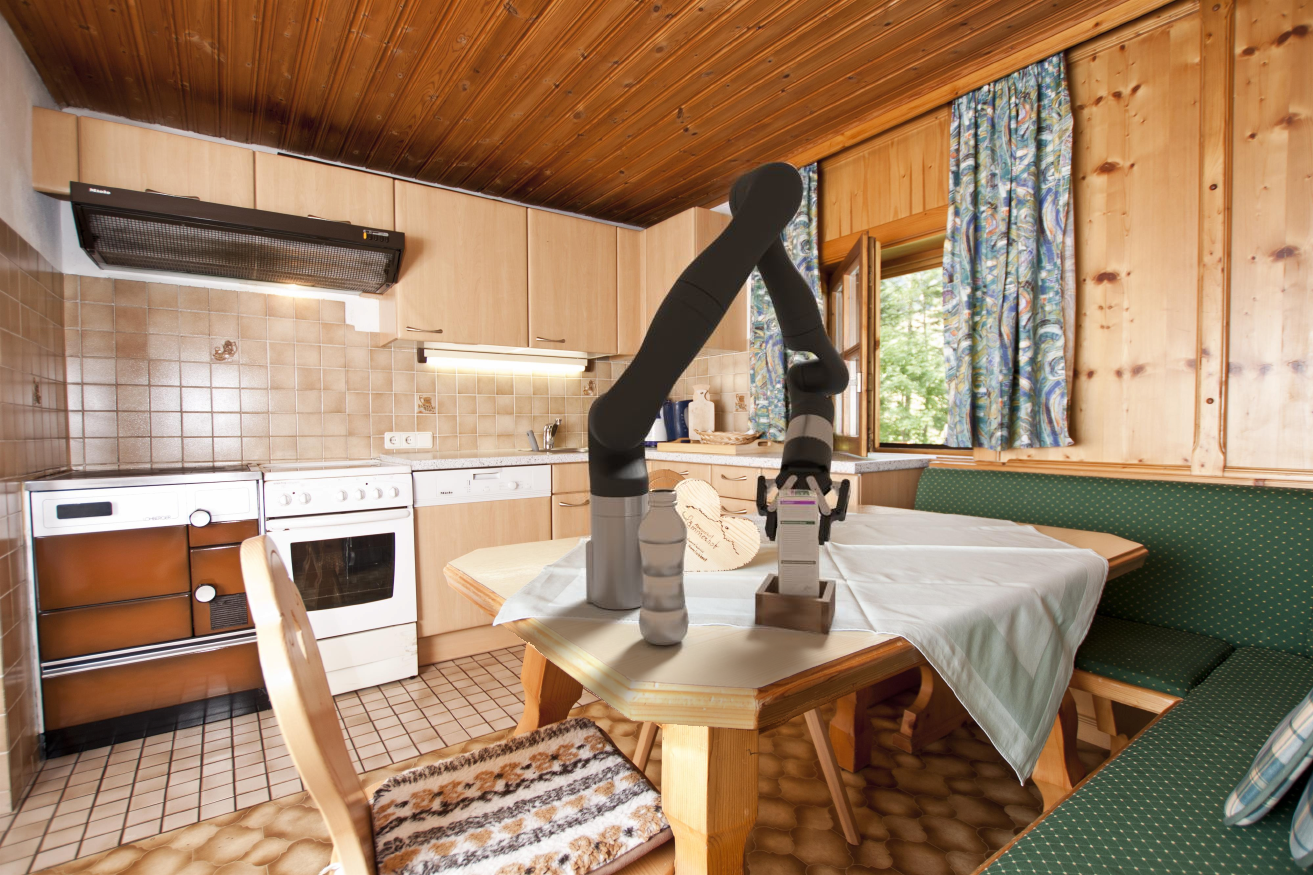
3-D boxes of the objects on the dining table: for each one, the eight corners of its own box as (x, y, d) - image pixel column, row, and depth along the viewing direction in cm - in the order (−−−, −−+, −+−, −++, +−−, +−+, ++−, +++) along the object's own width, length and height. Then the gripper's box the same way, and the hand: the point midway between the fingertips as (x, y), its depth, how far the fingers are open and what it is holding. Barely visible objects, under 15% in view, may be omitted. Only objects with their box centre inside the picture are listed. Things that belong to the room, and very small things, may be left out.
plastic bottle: (699, 640, 77) (698, 490, 75) (663, 656, 72) (662, 496, 71) (664, 626, 81) (663, 485, 80) (628, 641, 76) (626, 491, 75)
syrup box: (820, 598, 81) (820, 495, 80) (777, 596, 82) (777, 494, 81) (817, 585, 87) (817, 489, 86) (777, 583, 88) (777, 488, 87)
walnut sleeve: (755, 624, 82) (755, 593, 82) (768, 601, 91) (769, 573, 91) (828, 634, 78) (829, 602, 78) (835, 609, 87) (835, 580, 87)
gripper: (759, 433, 93) (741, 522, 82) (854, 435, 87) (848, 529, 77) (766, 463, 98) (750, 549, 88) (856, 465, 92) (850, 558, 82)
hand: (796, 540), depth 82 cm, fingers closed on syrup box, 6 cm apart
